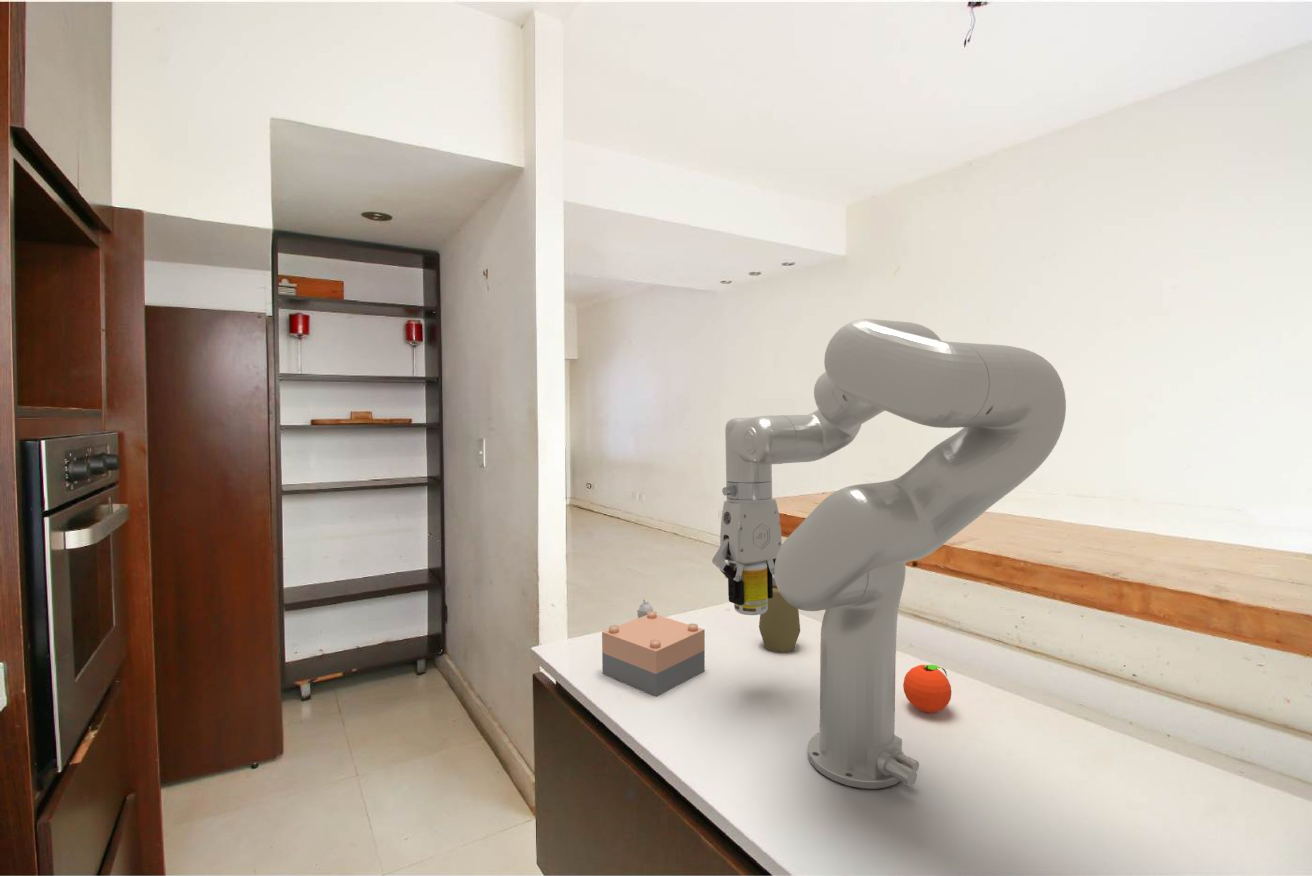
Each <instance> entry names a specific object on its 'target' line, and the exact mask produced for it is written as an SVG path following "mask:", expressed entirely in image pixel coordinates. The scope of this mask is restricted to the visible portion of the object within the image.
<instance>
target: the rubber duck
mask: <svg viewBox="0 0 1312 876" xmlns="http://www.w3.org/2000/svg"><path fill="white" fill-rule="evenodd" d="M639 605H640V606H639V608H638V609H637V611H636V612H637V615H636V616H637V618H636V619H638V618H640V617H643V616H645V615H647V612H650V611H654V608H653V606H652V604H651V603H649V601H647V602H646V600H645V598H643V603H641V604H639Z"/></svg>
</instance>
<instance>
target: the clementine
mask: <svg viewBox="0 0 1312 876" xmlns="http://www.w3.org/2000/svg"><path fill="white" fill-rule="evenodd" d="M940 669H941V670H942V671H943V672H944V673H945V674H944V673H943V672H942V671H941V670H940ZM947 677H948V674H947V670H946V669H945V668H943V667H941V666H939V665H936V664H919V665H916V666H914V667H912V668H910V670H909V671H907V672H906V674H905V676H904V679H903V682H902V686H903V687H902V688H903V693H904V695H905V697H906V699H907V700H908V702H909V703H910V704H911V705H912V707H914V708H916V709H917V710H918V711H921V712H924V713H928V714H933V713H934V714H935V713H938V712H941V711H943V710H944V709H945V708H946V707H947V706H949V703H950V701H951V699H952V686H951V683H950V680H949V679H948V678H947Z"/></svg>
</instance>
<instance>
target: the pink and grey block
mask: <svg viewBox="0 0 1312 876" xmlns="http://www.w3.org/2000/svg"><path fill="white" fill-rule="evenodd" d="M657 613H658V612H656V611H654V610H653V611H650V612H647V615H645V616H643V617H640V618H639V617H637V618H638V619H637V618H635V619H632V620H630V621H628V622H624V623H622V624H619V625H609V627H608V629H606V630H604V631H602V632H601V643H602V644H601V647H602V649H601V651H602V652H601V653H602V654H601V655H602V659H601V660H602V665H601V666H602V667H601V669H602V674H603V675H605V676H606V677H609V678H612V679H614V680H617V681H619V682H620V683H624V684H626V685H628V686H631V687H632V688H635V689H637V690H640V691H642V692H644V693H647V694H649V695H652V696H654V697H658V696H660V695H661V694H664V693H666V692H668V691H670V690H671V689H673V688H676V687H677V686H679V685H680V684H681V685H682V684H683V683H684V682H687V681H688V680H690V679H692V678H694V677H696V676H697V675H699V674H700V675H701V673H703V672H705V657H706V656H705V652H706V651H705V650H706V646H705V629H704V628H700V627H699V625H698V624H697V623H689V624H688V623H685V622H681V621H679V620H674V619H671V618H668V617H665V616H663V615H658V614H657Z"/></svg>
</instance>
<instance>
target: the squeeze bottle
mask: <svg viewBox="0 0 1312 876" xmlns="http://www.w3.org/2000/svg"><path fill="white" fill-rule="evenodd" d="M772 576H773V598H770V599H769V598H768V609H767V611H766V612H765V613H763V614H760V615H759V621H758V622H759V623H758V628H759V632H760V635H761V638H762V643H763V645H764V648H767V649H768V650H770V651H774V652H790V651H792V650H794V649H795V647H796V643H797V642H798V638H799V636H800V633H801V622H800V614H799V609H798V608H796V607H794V606H792V605H791V604H789V603H788V602H787V601H786V600H785V599H784V598H783V597H782V595H781V594H780V592H779V591H778V588H777V586H776V582H775V577H774V574H772Z"/></svg>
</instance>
